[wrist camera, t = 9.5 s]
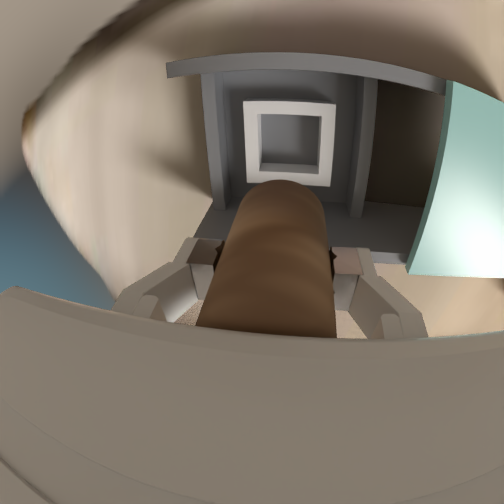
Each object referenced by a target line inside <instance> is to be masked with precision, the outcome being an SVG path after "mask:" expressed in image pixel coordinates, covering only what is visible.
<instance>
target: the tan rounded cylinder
mask: <svg viewBox="0 0 504 504" xmlns="http://www.w3.org/2000/svg"><path fill="white" fill-rule="evenodd" d="M195 326H200V327H207V328H215V329H223V330H232V331H241V332H251V333H261V334H273V335H285V336H300V337H319V338H337V334H336V318H335V304H334V292H333V281H332V271H331V262H330V253H329V245H328V237H327V230H326V222H325V215H324V210H323V207H322V204H321V202H320V201H319V199H318V198H317V196H316V195H315V194H314V193H313V192H312V191H311V190H310V189H308V188H307V187H305V186H303V185H301V184H299V183H297V182H294V181H290V180H282V179H279V180H269V181H266V182H263V183H260V184H258V185H257V186H255V187H253V188H252V189H251V190H249V192H248V193H247V194H246V195H245V196H244V198H243V199H242V201H241V203H240V206H239V208H238V211H237V214H236V216H235V219H234V221H233V224H232V227H231V229H230V232H229V235H228V237H227V240H226V242H225V245H224V248H223V250H222V253H221V256H220V259H219V261H218V264H217V267H216V269H215V272H214V275H213V278H212V280H211V283H210V286H209V289H208V291H207V294H206V297H205V300H204V303H203V305H202V308H201V311H200V314H199V317H198V320H197V322H196V325H195Z"/></svg>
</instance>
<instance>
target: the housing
mask: <svg viewBox="0 0 504 504" xmlns="http://www.w3.org/2000/svg"><path fill="white" fill-rule="evenodd" d="M166 70H167V78H173V77H180V76H188V75H197V74H201V88H202V100H203V112H204V123H205V133H206V143H207V153H208V163H209V172H210V181H211V190H212V198H213V202H212V204H211V206H210V208H209V209H208V211H207V213H206V215H205V217H204V218H203V220H202V222H201V224H200V225H199V227H198V229H197V231H196V233H195V235H194V236H193V238H208V239H222V240H224V241H225V242H226V240H227V237H228V235H229V232H230V229H231V227H232V224H233V221H234V219H235V216H236V214H237V211H238V208H239V206H240V203H241V201H242V199H243V198H244V196H245V195H246V194H247V193H248V192H249V190H251V189H252V188H253V187H255V186H257V185H258V184H260V183H263V182H266V181H269V180H279V179H282V180H290V181H294V182H297V183H299V184H301V185H303V186H305V187H307V188H308V189H310V190H311V191H312V192H313V193H314V194H315V195H316V196H317V198H318V199H319V201H320V202H321V204H322V207H323V210H324V215H325V222H326V230H327V237H328V245H329V250H330V246H334V247H351V248H356V247H359V248H369V249H370V252H371V256H372V259H373V262H374V263H386V264H403V265H406V263H407V260H408V257H409V255H410V252H411V249H412V246H413V243H414V240H415V237H416V234H417V231H418V228H419V225H420V221H421V218H422V215H423V211H424V208H421V207H414V206H406V205H398V204H389V203H380V202H370V201H364V200H365V195H366V189H367V182H368V176H369V169H370V162H371V154H372V146H373V137H374V128H375V117H376V104H377V88H378V80H383V81H388V82H393V83H397V84H402V85H406V86H410V87H414V88H418V89H422V90H426V91H429V92H433V93H436V94H439V95H443V96H445V94H446V81H447V80H445V79H442V78H439V77H436V76H433V75H429V74H426V73H423V72H419V71H416V70H412V69H408V68H404V67H400V66H395V65H391V64H386V63H381V62H376V61H371V60H365V59H359V58H352V57H344V56H336V55H326V54H314V53H294V52H256V53H237V54H224V55H214V56H205V57H198V58H191V59H185V60H179V61H173V62H168V63H166Z"/></svg>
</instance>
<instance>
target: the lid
mask: <svg viewBox="0 0 504 504" xmlns="http://www.w3.org/2000/svg"><path fill="white" fill-rule="evenodd" d="M405 268H406V271H407V273H408V274H412V275H434V276H459V277H486V278H504V103H503V102H501V101H499V100H497V99H495V98H493V97H491V96H489V95H486V94H484V93H482V92H480V91H477V90H475V89H473V88H470V87H468V86H465V85H463V84H460V83H457V82H455V81H450V80H447V81H446V94H445V105H444V114H443V121H442V128H441V135H440V141H439V147H438V152H437V157H436V162H435V167H434V172H433V176H432V181H431V185H430V189H429V193H428V197H427V200H426V204H425V208H424V211H423V215H422V218H421V221H420V225H419V228H418V231H417V234H416V237H415V240H414V243H413V246H412V249H411V252H410V255H409V257H408V260H407V263H406V266H405Z"/></svg>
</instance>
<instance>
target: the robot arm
mask: <svg viewBox="0 0 504 504" xmlns="http://www.w3.org/2000/svg"><path fill="white" fill-rule="evenodd" d="M224 245H225V241H224V240H222V239H208V238H193V237H188V238H186V239H185V241H184V243H183V244H182V246H181V248H180V250H179V251H178V253H177V255H176V257H175V259H174V260H173V262H168V263H167V264H165V265H163V266H162V267H160V268H158V269H157V270H155V271H153V272H152V273H150V274H148V275H147V276H145V277H143V278H142V279H140V280H138V281H137V282H135V283H134V284H132V285H130V286H129V287H127V288H125V289H124V290H123V291H122V292H121V294H120V296H119V297H118V299H117V301H116V302H115V304H114V306H113V307H112V309H111V311H110V310H105V309H100V308H96V307H92V306H88V305H83V304H79V303H75V302H71V301H67V300H64V299H60V298H56V297H53V296H49V295H45V294H42V293H39V292H35V291H32V290H28V289H25V288H22V287H19V286H13V287H10V288H9V289H7V290H5V291H4V292H2V293H1V294H0V504H504V330H502V331H495V332H487V333H478V334H468V335H456V336H443V337H428V334H427V330H426V327H425V323H424V320H423V317H422V314H421V312H420V311H418V310H417V309H416V308H415V307H414V306H413V305H412V304H411V303H410V302H409V301H408V300H407V299H406V298H405V297H403V296H402V295H401V294H400V293H399V292H398V291H397V290H396V289H395V288H394V287H392V286H391V285H390V284H389V283H388V282H387V281H386V280H385V279H383V278H382V277H381V276H377V273H376V269H375V266H374V262H373V259H372V256H371V252H370V249H369V248H359V247H356V248H351V247H334V246H330V250H329V253H330V262H331V271H332V281H333V292H334V304H335V310H343V311H348V312H349V314H350V315H351V316H352V318H353V319H354V320H355V322H356V323H357V324H358V326H359V327H360V329H361V330H362V331H363V333H364V334H365V336H366V337H367V338H368V339H350V338H319V337H300V336H285V335H273V334H261V333H251V332H241V331H232V330H223V329H215V328H207V327H200V326H193V325H186V324H179V323H173V322H175V321H176V320H177V319H178V318H179V317H180V316H181V315H182V314H184V313H185V312H186V311H187V310H188V309H189V308H190V307H191V306H192V305H194V304H195V303H196V302H197V301H198V299H199V300H205V297H206V294H207V291H208V289H209V286H210V283H211V280H212V278H213V275H214V272H215V269H216V267H217V264H218V261H219V259H220V256H221V253H222V250H223V248H224Z"/></svg>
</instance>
